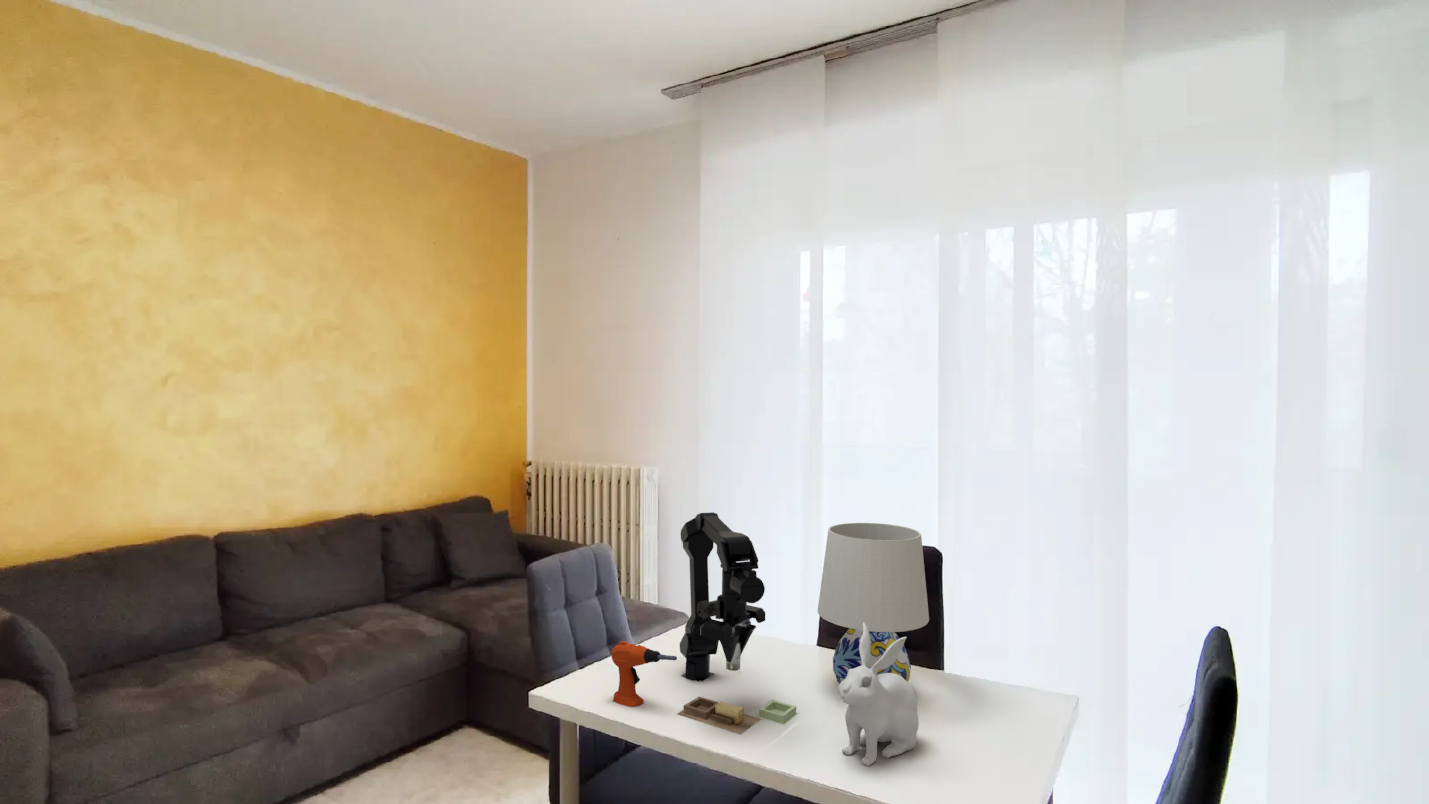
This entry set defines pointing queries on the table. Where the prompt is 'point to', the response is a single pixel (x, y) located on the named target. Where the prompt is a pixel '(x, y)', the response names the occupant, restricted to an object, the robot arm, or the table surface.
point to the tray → (777, 712)
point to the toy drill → (632, 670)
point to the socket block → (715, 716)
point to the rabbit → (879, 704)
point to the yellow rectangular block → (730, 712)
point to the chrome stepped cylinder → (735, 659)
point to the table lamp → (873, 591)
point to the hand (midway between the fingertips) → (733, 659)
